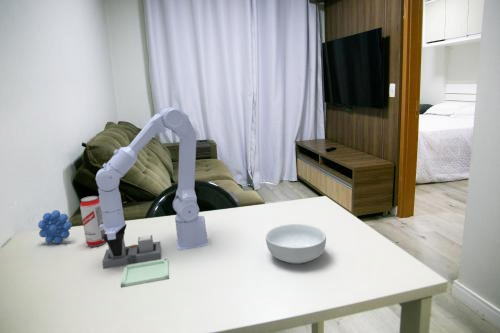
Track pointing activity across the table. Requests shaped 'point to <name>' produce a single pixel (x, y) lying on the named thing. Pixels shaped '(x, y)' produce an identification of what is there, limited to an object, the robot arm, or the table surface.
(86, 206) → the beer can
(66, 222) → the blue lumpy cluster
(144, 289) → the table surface
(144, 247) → the twin plug
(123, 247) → the plug
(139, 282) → the tray
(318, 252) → the cereal bowl
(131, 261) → the grey double window frame
